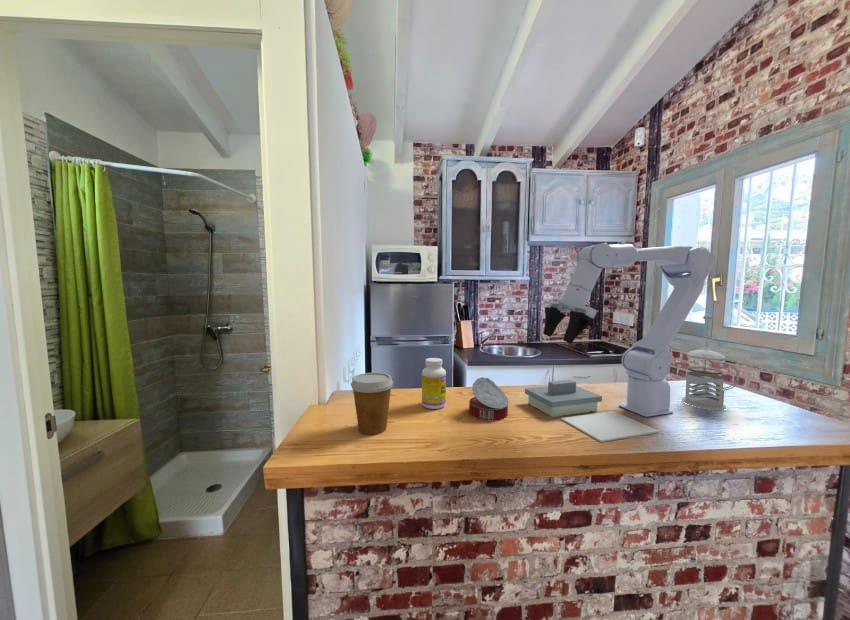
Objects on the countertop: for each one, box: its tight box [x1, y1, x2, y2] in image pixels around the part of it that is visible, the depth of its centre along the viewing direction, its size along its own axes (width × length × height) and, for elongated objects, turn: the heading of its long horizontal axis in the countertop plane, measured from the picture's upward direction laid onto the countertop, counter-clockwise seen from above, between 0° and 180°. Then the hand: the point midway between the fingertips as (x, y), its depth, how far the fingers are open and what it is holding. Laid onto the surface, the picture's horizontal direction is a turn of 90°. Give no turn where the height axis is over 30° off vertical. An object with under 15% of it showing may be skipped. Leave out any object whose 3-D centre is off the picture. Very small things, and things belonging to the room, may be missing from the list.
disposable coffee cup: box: [350, 372, 394, 436], centre depth 71 cm, size 10×10×12 cm
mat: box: [560, 410, 660, 443], centre depth 73 cm, size 16×12×1 cm
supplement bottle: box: [421, 357, 447, 410], centre depth 86 cm, size 7×7×13 cm
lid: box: [524, 379, 603, 408], centre depth 85 cm, size 15×11×4 cm
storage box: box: [527, 395, 598, 418], centre depth 85 cm, size 14×10×4 cm
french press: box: [681, 314, 740, 411], centre depth 86 cm, size 10×12×25 cm
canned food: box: [468, 377, 509, 422], centre depth 81 cm, size 11×10×10 cm
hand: (556, 338), depth 79 cm, fingers open, 7 cm apart
